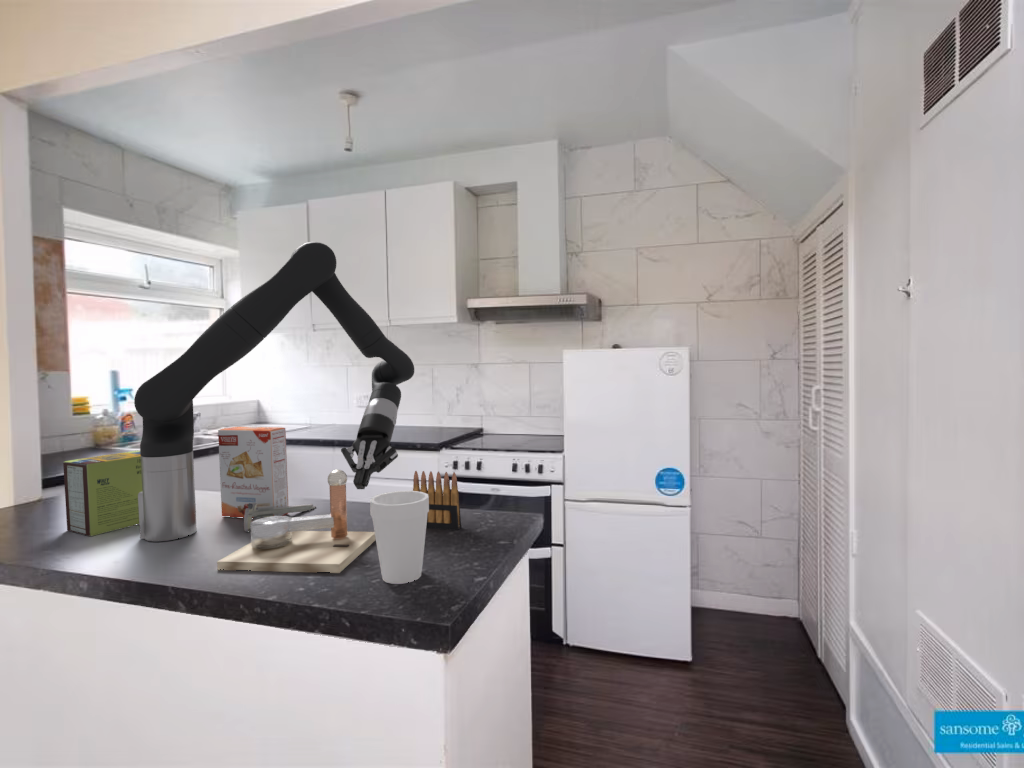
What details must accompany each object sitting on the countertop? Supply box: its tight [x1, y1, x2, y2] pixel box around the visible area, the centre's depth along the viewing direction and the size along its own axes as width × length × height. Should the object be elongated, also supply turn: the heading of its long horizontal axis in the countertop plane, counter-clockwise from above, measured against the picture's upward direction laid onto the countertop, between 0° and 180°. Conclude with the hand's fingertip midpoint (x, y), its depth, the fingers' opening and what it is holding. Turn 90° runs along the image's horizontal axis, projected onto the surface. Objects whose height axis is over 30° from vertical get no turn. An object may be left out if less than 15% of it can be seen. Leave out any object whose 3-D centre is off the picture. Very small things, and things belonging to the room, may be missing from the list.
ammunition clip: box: [412, 470, 462, 531], centre depth 113 cm, size 11×2×12 cm, turn 74°
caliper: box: [243, 503, 317, 532], centre depth 121 cm, size 20×1×6 cm, turn 158°
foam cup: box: [369, 490, 429, 585], centre depth 87 cm, size 10×9×13 cm
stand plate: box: [216, 530, 376, 574], centre depth 98 cm, size 22×17×2 cm
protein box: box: [62, 449, 142, 537], centre depth 120 cm, size 10×15×16 cm
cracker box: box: [217, 426, 289, 518], centre depth 124 cm, size 14×6×21 cm, turn 77°
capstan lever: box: [250, 469, 348, 549], centre depth 100 cm, size 17×7×13 cm, turn 106°
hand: (359, 487), depth 111 cm, fingers closed
